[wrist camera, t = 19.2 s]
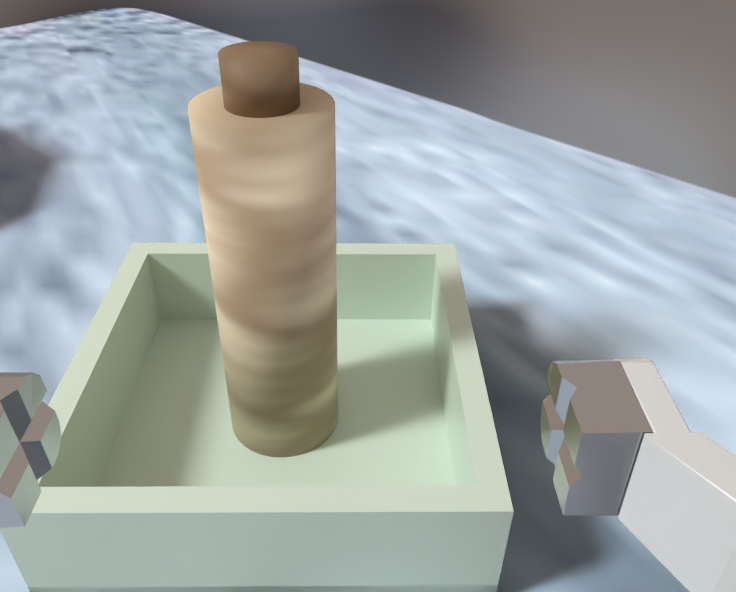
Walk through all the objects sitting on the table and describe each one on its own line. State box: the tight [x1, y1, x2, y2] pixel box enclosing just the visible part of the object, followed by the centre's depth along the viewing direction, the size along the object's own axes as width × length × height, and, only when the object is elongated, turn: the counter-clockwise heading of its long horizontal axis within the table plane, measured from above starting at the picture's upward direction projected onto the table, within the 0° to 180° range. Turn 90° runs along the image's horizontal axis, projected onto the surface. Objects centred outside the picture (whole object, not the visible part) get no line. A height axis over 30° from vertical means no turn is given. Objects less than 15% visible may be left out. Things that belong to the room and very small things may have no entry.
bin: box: [0, 243, 514, 592], centre depth 29 cm, size 16×16×5 cm
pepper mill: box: [188, 41, 338, 457], centre depth 25 cm, size 5×5×16 cm
